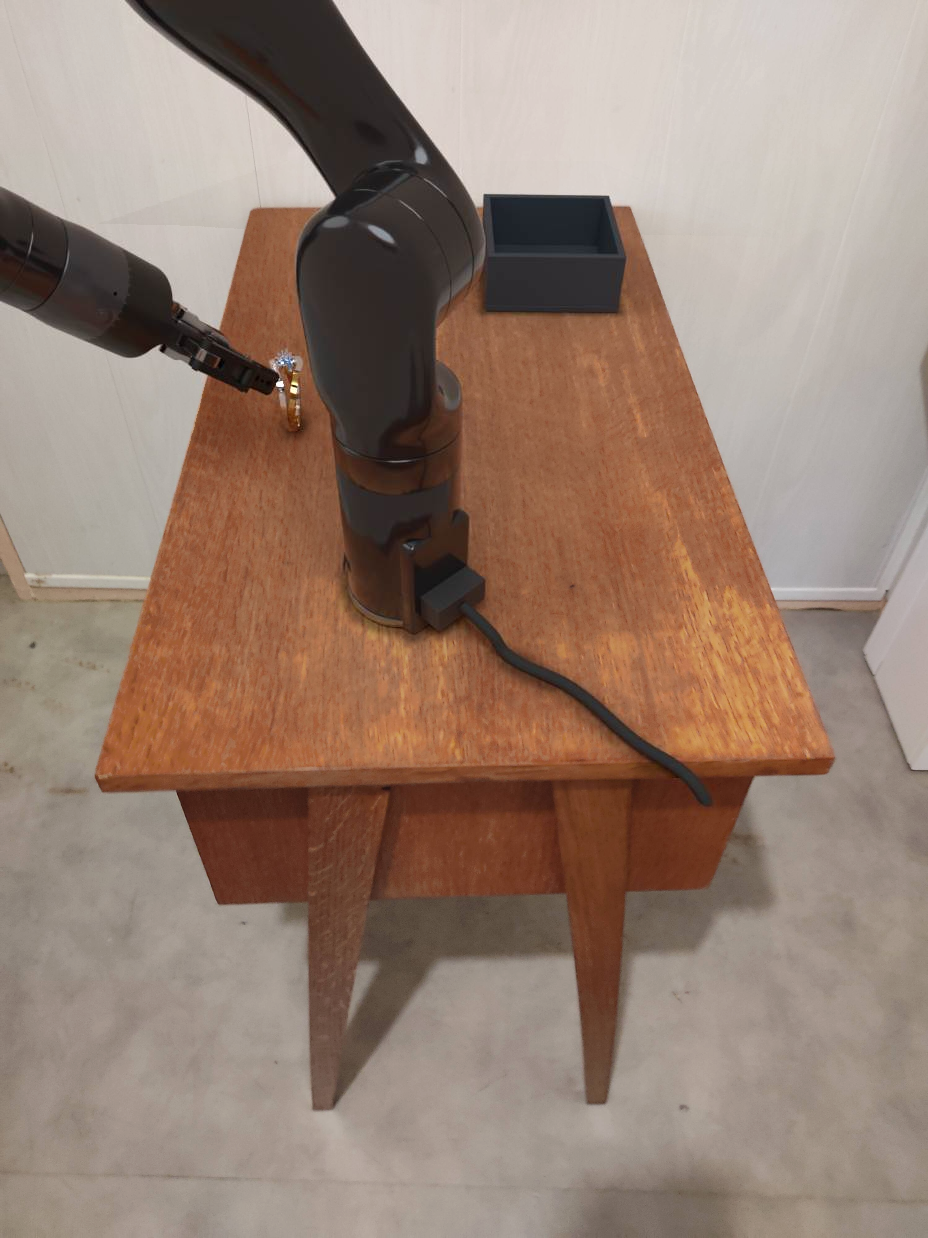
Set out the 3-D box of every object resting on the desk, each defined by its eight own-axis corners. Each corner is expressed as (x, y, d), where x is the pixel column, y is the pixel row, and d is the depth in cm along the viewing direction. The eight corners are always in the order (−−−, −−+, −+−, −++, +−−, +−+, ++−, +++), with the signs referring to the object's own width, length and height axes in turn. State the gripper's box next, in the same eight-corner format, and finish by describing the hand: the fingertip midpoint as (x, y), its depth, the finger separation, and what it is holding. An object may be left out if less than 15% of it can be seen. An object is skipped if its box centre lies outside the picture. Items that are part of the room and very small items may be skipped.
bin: (617, 312, 103) (626, 257, 98) (485, 311, 103) (488, 255, 98) (601, 248, 113) (609, 195, 108) (481, 246, 113) (483, 193, 108)
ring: (285, 403, 90) (273, 334, 84) (316, 404, 90) (307, 335, 84) (274, 446, 86) (261, 376, 80) (306, 447, 86) (296, 377, 80)
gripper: (165, 280, 61) (313, 360, 75) (66, 209, 68) (220, 295, 82) (118, 374, 63) (272, 435, 77) (26, 296, 69) (183, 366, 83)
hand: (245, 363), depth 79 cm, fingers open, 8 cm apart
